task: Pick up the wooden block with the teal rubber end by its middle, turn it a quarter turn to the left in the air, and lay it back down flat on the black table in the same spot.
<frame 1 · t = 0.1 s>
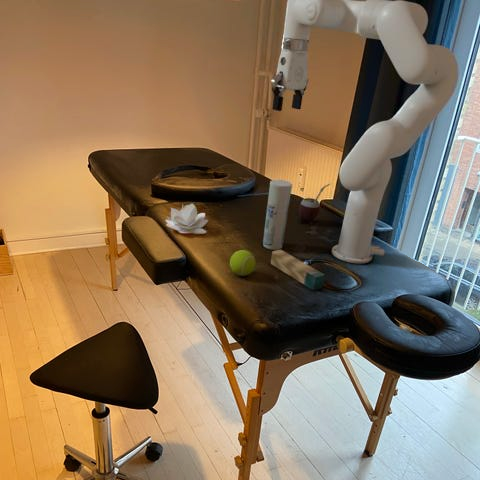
hand: (286, 109, 149), 37 cm above the table, tool pointing down, fingers open, 9 cm apart
lotus flower: (185, 229, 157), on the table
spray can: (272, 246, 152), on the table
wooden block: (317, 289, 129), on the table
mate gourd: (308, 222, 173), on the table
tennis ball: (241, 275, 133), on the table
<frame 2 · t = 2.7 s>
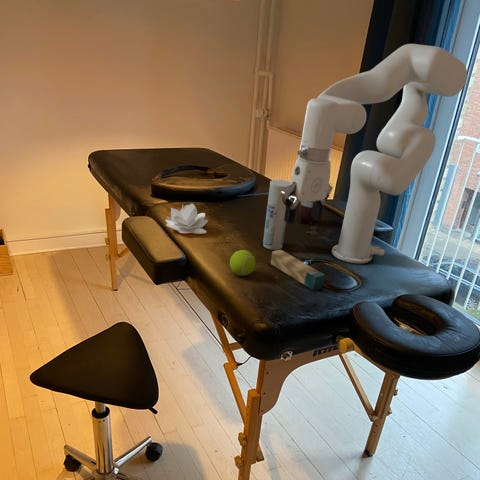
hand: (302, 220, 127), 16 cm above the table, tool pointing down, fingers open, 9 cm apart
nothing on the table moved.
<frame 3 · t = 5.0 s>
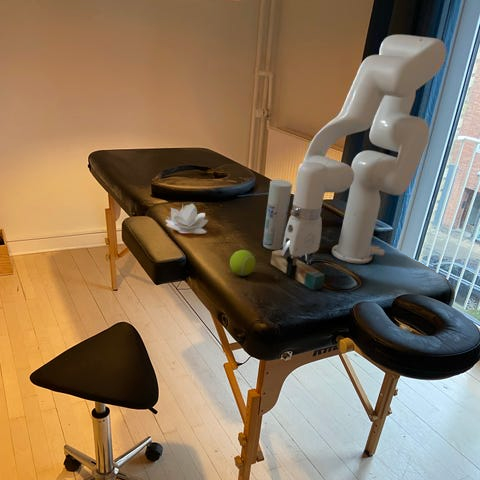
hand: (295, 274, 135), 0 cm above the table, tool pointing down, fingers closed on wooden block, 3 cm apart
wooden block: (317, 289, 129), on the table, touching gripper
everything else where it was.
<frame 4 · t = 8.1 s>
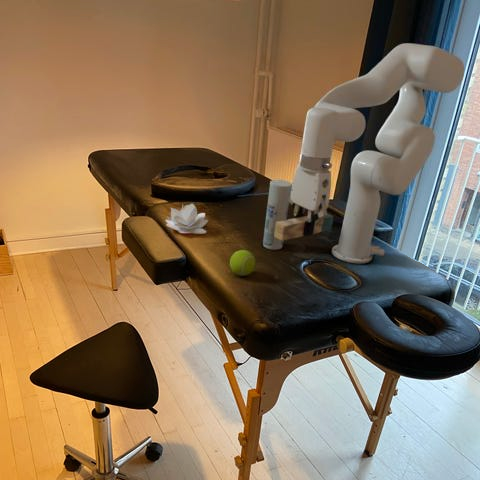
hand: (302, 231, 128), 13 cm above the table, tool pointing down, fingers closed on wooden block, 3 cm apart
wooden block: (326, 227, 134), point 13 cm above the table, touching gripper
everything else where it was.
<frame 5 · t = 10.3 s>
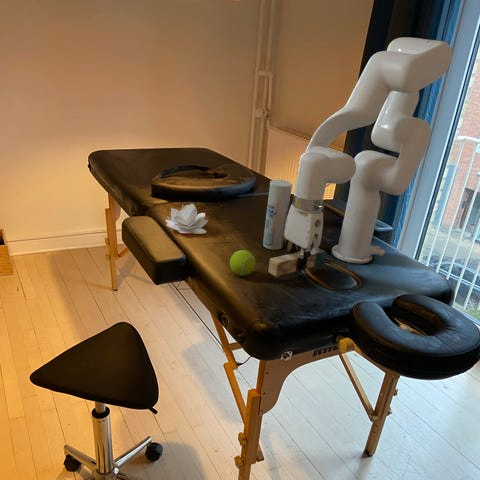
hand: (295, 266, 134), 3 cm above the table, tool pointing down, fingers closed on wooden block, 3 cm apart
wooden block: (318, 262, 139), point 2 cm above the table, touching gripper
everything else where it was.
when the fingers open (0 cm above the table, at t = 11.3 s): wooden block stays where it is, on the table.
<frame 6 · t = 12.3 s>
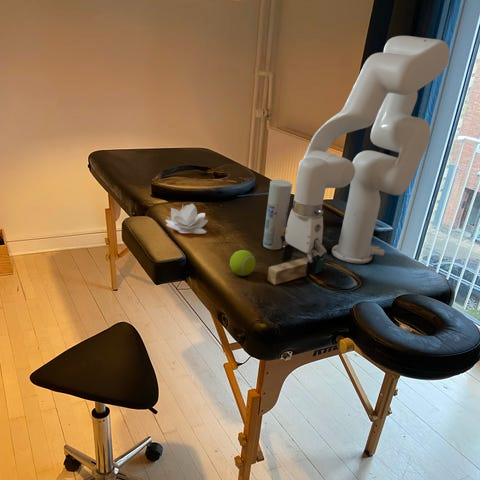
hand: (298, 266, 134), 3 cm above the table, tool pointing down, fingers open, 9 cm apart
wooden block: (317, 269, 140), on the table
everything else where it was.
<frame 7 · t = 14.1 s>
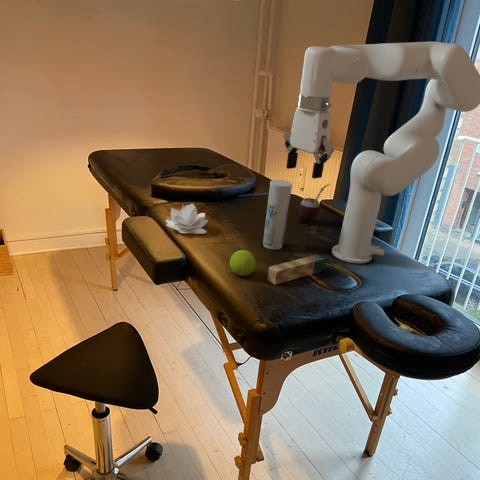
hand: (303, 172, 128), 26 cm above the table, tool pointing down, fingers open, 9 cm apart
nothing on the table moved.
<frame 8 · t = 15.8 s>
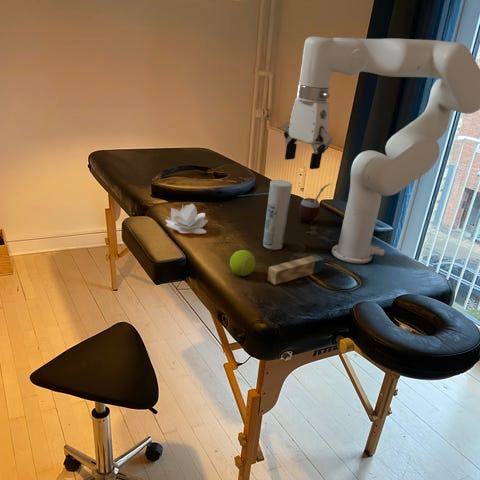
hand: (301, 163, 129), 28 cm above the table, tool pointing down, fingers open, 9 cm apart
nothing on the table moved.
at the end: wooden block 0.1 cm from the target spot, on the table; the gripper is holding nothing; wooden block tilted 0° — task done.
